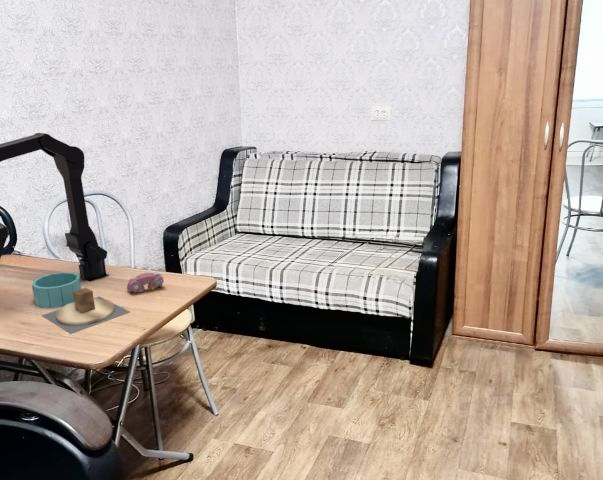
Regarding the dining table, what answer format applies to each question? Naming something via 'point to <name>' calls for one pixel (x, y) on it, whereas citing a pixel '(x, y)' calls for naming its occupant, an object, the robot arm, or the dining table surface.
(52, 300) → the bowl
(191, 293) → the dining table surface
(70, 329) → the mat
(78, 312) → the lid
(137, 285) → the purple toy car
